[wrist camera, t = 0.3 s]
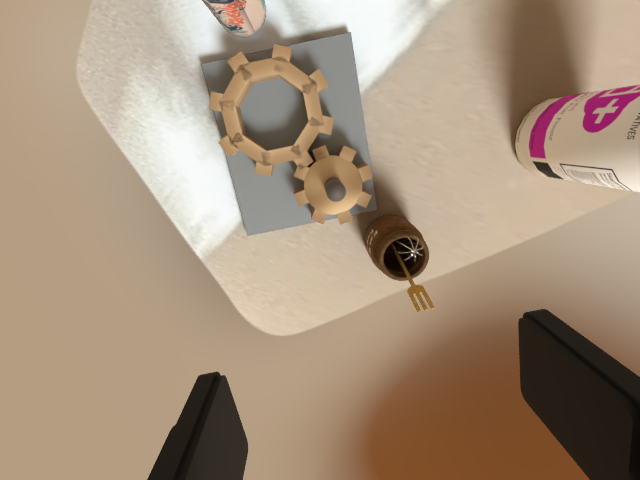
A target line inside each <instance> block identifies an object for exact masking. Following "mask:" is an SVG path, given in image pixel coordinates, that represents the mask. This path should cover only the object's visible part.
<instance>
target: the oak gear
mask: <svg viewBox="0 0 640 480" xmlns="http://www.w3.org/2000/svg"><path fill="white" fill-rule="evenodd" d="M291 60H292V49H291V48H290V47H286V46H282V45H277V44H274V47H273V54H272V58H269V59H265V60H260V61H255V62H249V61H248V59H247V58H246V56H245V55H244V54H243V53H242V51H240V52H239V53H237V54H236V55H235V56H233V57H232V58H231V59H230V60H228V61H227V62H228V63H229V65H230V66H231V68H232V69H233V71H234V72H235V74H234V76H233V78H232V80H231V82H230V83H229V85H228V87H227V89H226V91H225V92H224V94H221V93H217V92H212V91H211V95H210V105H209V109H211V110H214V111H219V112H222V115H223V119H224V123H225V126H226V130H227V134H228V135H227V136H226V137H224V138H223V139H221V140H220V141H219V142H218V143H219V144H220V145H221V147H222V148H223V150H224V151H225V152H226V154H227V155H228V156H230V155H234V154H235V153H236V152H238V151H239V150H240V151H242V152H243V153H245V154H246V155H248V156H249V157H251V158H252V159H254V160H255V161H257V163H256V170H255V173H256V174H261V175H266V176H272V175H273V172H274V166H275V164H278V163H283V162H288V161H293V160H294V162H295V163H296V165H297V166H298V164H302V167H304V168H305V167H306V166H308V165H309V164H311V163H312V162H314V161H313V159H312V157H311V156H310V154H309V153H308V151H307V150H308V149H309V147H310V146H311V144H312V143H313V141H314V139H315V138H316V136H317V135H318V133H322V134H327V135H331V132H332V127H333V122H334V118H332V117H327V116H323V115H322V111H321V106H320V100H319V95H318V94H319V93H320V92H322V91H323V90H325V89H326V88H327V87H328V83H327V81H326V79H325V78H324V76H323V74H322V73H321V71H320V69H318V70H316V71H315V72H314V73H312V74H311V75H310V76H307V75H306V74H305V73H303V72H302V71H301V70H299V69H298V68H297V67H295V66H294V65H293V64H291ZM278 78H281V79H282V80H284V81H285V82H287V83H288V84H289V85H291V86H292V87H294V88H295V89H296V90H298V91H299V92H300V93H302V94H303V96H304V101H305V106H306V111H307V116H308V121H309V122H308V123H307V125H306V126H305V128H304V130H303V131H302V133H301V134H300V136H299V138H298V139H297V141H296V142H295V144H294V145H292V146H287V147H282V148H277V149H273V150H268V149H267V148H265V147H264V146H262V145H261V144H259V143H258V142H256V141H255V140H253V139H252V138H250V137H249V136H247V134H246V130H245V126H244V122H243V117H242V113H241V109H240V107H241V105H242V103H243V102H244V100H245V98H246V96H247V95H248V93H249V91H250V89H251V88H252V86H253V84H254V83H259V82H264V81H269V80H274V79H278ZM303 165H304V166H303ZM298 168H299V169H301V167H299V166H298Z"/></svg>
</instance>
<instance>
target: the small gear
mask: <svg viewBox="0 0 640 480" xmlns="http://www.w3.org/2000/svg"><path fill="white" fill-rule="evenodd" d="M312 151H313V153H314V156H315V159H316V160H315V161H314V162H313V163H312V164H311V165H310V166H309V165H308V166H306V167H305V168H304V167H302V164H298V166H299V167H301V169H299V168H298V167H297V169H296V171H295V174H294V177H297V178H299V179H301V180H304V187H302V188H300V189H297V190H295V191H294V196H295V199H296V201H297V204H298V206H302V205H304V204H307V203H310V204H311V205H312V206H313V207H314V208H313V210H312V213H311V219H312V220H314V221H317V222H319V223H321V224H324V221H325V219H326V217H327V215H328V214H330V215H336V214H337V217H338V219H339V222H340V225H341V224H343V223H346V222H349V221H351V220H353V219H352V216H351V213H350V211H349V209H351V208H352V207H353V206H354V205H355V204H358V205H360V206H363V207H365V208H366V207H367V205H368V203H369V201H370V199H371V196H372V195H370V194H369V193H368V192H367V191H364V190H362V182H364V181H366V180H369V179H371V178H373V176H372V173H371V170H370V167H369V165H368V164H366V163H364V164H361V165H358V166H355V165H354V164H353V163H352V160H353V158H354V156H355V154H356V151H355V150H353V149H351V148H349V147H346V146H344V145H341V147H340V149H339V152H338V154H337V155H329V153H328V151H327V148H326V145H325V144H324V145H321V146H319V147H316V148H314V149H312ZM303 166H304V165H303Z"/></svg>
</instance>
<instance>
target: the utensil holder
mask: <svg viewBox="0 0 640 480" xmlns="http://www.w3.org/2000/svg"><path fill="white" fill-rule="evenodd" d="M365 245H366V249H367V251H368V254H369V256H370V258H371V259H372V261H373V263H374V264H375V265H376V267H377V268H378V269H379V270H381V271H382V272H383V273H384V274H385V275H387V276H388V277H390V278H392V279H394V280H399V281H405V280H409V282H410V284H411V287H410V288H409V289H408V294H409V296H410V298H411V300H412V302H413V304H414V306H415V308H416V310H417V312H421V310H420V308H419V306H418V304H417V302H416V300H415V298H414V296H415V295H416V296H417V297H418V299H419V301H420V303H421V305H422V307H423V309H424V310H425V311H427V310H428V309H427V307H426V305H425V303H424V301H423V299H422V297H421V295H420V294H423V295H424V297H425V298H426V300H427V302H428V304H429V306H430V307H431V309H434V305H433V304H432V302H431V300H430V298H429V296H428V295H427V293H426V291H425V289H424V287H423V286H420V285H415V284H414V282H413V280H412V279H413V278H415V277H417V276H418V275H419V274H420V273H422V271H423V270H424V269H425V267H426V266H427V263H428V260H429V251H428V247H427V245H426V243H425V241H424V239H423V237H422V235H421V233H420V232H419V231H418V230H417V229H416V228H415V227H414V226H413V225H412V224H411V223H410V222H408V221H407V220H405V219H404V218H402V217H399V216H395V215H387V216H383V217H380V218H378V219H377V220H375V221H374V222H373V223H372V224H371V225H370V226H369V228H368V230H367V232H366V236H365Z"/></svg>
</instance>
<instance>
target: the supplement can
mask: <svg viewBox="0 0 640 480" xmlns="http://www.w3.org/2000/svg"><path fill="white" fill-rule="evenodd" d="M515 147H516V152H517V158H518V159H519V161H520V162H521V164H522V165H523V167H524V168H525V169H527V170H528V171H530V172H531V173H533V174H535V175H541V176H546V177H552V178H558V179H564V180H570V181H576V182H582V183H588V184H594V185H600V186H606V187H612V188H618V189H623V190H629V191H635V192H640V85H635V86H628V87H622V88H616V89H609V90H603V91H596V92H590V93H584V94H577V95H571V96H564V97H558V98H553V99H548V100H545V101H544V102H542V103H540V104H538V105H537V106H535V107H534V108H533V109H532V110H531V111H530V112H529V113H528V114H527V115H526V116H525V117H524V119H523V121H522V123H521V125H520V127H519V129H518V131H517V136H516V142H515Z"/></svg>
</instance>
